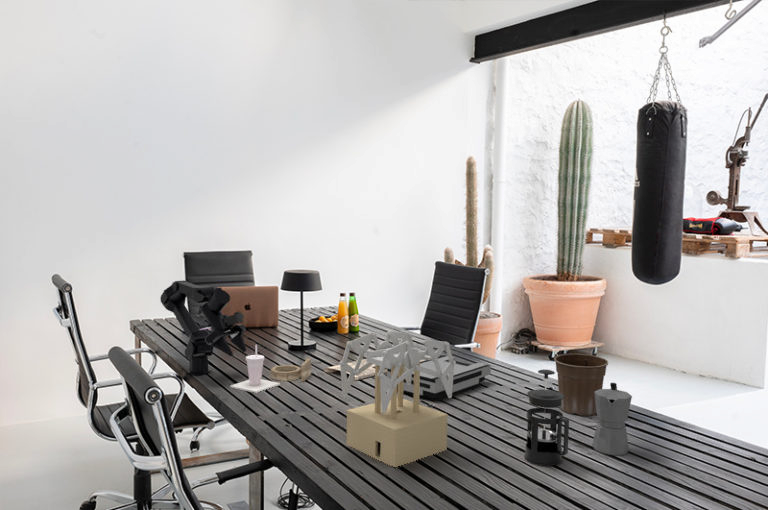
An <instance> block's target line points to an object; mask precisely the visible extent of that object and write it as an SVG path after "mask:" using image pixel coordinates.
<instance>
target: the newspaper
mask: <svg viewBox="0 0 768 510" xmlns="http://www.w3.org/2000/svg"><path fill="white" fill-rule="evenodd" d="M422 361H425V359H424V360H420V362H422ZM346 363H347V364H348V365H350V366H351V367H352V368H353V369H354V368H355V365H356V363H357V360H355V361H351V362H346ZM366 363H368V362H366V358H364V359H362V361H361V364H360V367H359V368H361V367H362V366H364V365H365V364H366ZM323 370H324V372H325V373H336V372H341V368H340V364H337V365H333V366H328V367H327V366H326V367H325V368H324V369H323ZM346 374H348V375H350V373H348V372H346ZM383 374H387V368H384V372H383ZM371 377H375V364H373V365H371V366H370V367H368V368H367V369H366V370H364V371H363V372H362V373H360V375H358V376H356V375H355V376H354V379H353V381H354V382H355V381H359V380H363V379H367V378H368V379H369V378H371Z"/></svg>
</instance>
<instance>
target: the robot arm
mask: <svg viewBox="0 0 768 510" xmlns="http://www.w3.org/2000/svg"><path fill="white" fill-rule="evenodd" d="M188 296H189V297H191V298H192V301H194V302H195V303H196V304H203V305H200V306H199V308H198V315H199V316H200V315H203V317H204V318H205V319H206V321H207V322H208V324H207V328H212V331H211V332H210V333H209V332H208V331H209V330H207V329H203V330H201V329H200V327H199V326H198V325H197V323H196V321H195V320H194V318H193V316H192V315H191V313H190V312H189V310H188V308H187V307H186V305H185V304H186V299H187V297H188ZM230 300H231V296H230V294H229V293H228V292H227V291H225V290H223V289H222V287H221V286H220V287H214V286H213V285H212V286H211V285H205V286H204V285H203V286H200V285H197V284H194V283H192V282H189V281H187V280H175V281H172V283H171V285H170V286H168V287H167V288H165V289H164V290H163V292H162V294H161V295H160V304H161V305H162V306H163V307H164V308H165V309H166V310H167V311H169V312H171V313H173V315H174V316H175V319H176V320H177V321H178V323H179V325H180V326H181V328H182V330H183V331H184V333H185V335H186V337H187V339H188V341H187V346H186V348H185V349H184V351H183V352H184V356H185V358H187V359H189V370H188V371H186V374H189V375H195V376H201V375H205V374H208V373H212V370H210V369H209V359H208V358H209V357H210V356H213V352H214V348H216V349H218V350H219V351H221V352H223V353H224V354H226V355H227V356H230V357H232V356H234V353H233V351H232V349H231V347H230V345H229V344H228V341H227V337H228V338H229V339H230V340H229V341H230V342H231V343H232V344H233V345H234V346H236V347H237V348H238V349H239V350H241V351H242V352H243V353H246V352H247V348H246V345H245V344H246V343H245V339H244V335H245V332H246V330H247V328H246V326H245V324H243V323H244V318H245V315H244V314H243V313H242V312H241V310H240V311H237V312H234V313H233V314H231V315H229V316H228V315H227V314H223V313H222V311H223V309H225V307H227V305H228V303H229V302H230Z"/></svg>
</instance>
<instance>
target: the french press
mask: <svg viewBox="0 0 768 510" xmlns="http://www.w3.org/2000/svg"><path fill="white" fill-rule="evenodd" d="M537 373H538V374H541V375H543V377H544V379H545V384H544V389H532V390H529V391H528V392H527V394H526V395H527V397H528V402H529V404H531V405H532V406H535V407H533V408H530V409H527V411H526V418H527V429H526V430H527V432H526V443H525V448H524V449H525V451H524V452H525V453H524V460H525V459H526V460H527V462H528V463H529V462H530V464H532V463H533V465H534V464H537V465H536V466H539V465H542V466H541V467H547V466H548V467H555V466H554V465H557V466H559V465H561V464H562V463H563V457H562V456H566V455H568V453H569V433H570V432H569V431H570V430H569V429H570V420H569V419H567V418H564V414H563V412H561V411H560V410H556V409H554V408H560V407H559V406H561V405H562V399H563V398H564V395H563V394H561V393H559V391H555V390H551V389H547V385H548V383H547V382H548V379H549V375H550V376H551V375H555V374H556V372H555V371H554V370H551V369H539V370H537ZM533 414H543V417H535V416H534V415H533ZM547 414H549V415H550V418H546V415H547ZM539 424H541V425H543V428H539ZM546 425H549V427H550V428H549V429H546ZM563 425H564V427H563ZM562 427H563V428H562ZM562 430H563V447H562ZM562 448H563V449H562ZM526 460H525V461H526ZM561 462H562V463H561ZM560 463H561V464H560ZM558 464H559V465H558Z"/></svg>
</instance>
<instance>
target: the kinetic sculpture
mask: <svg viewBox="0 0 768 510" xmlns="http://www.w3.org/2000/svg"><path fill="white" fill-rule="evenodd" d="M412 338H413V334H412V333H410V332H401V331H391V330H388V331H386V336H385V340H384V341H382V342H379V339H378V334H377V333H375V332H373V331H372V332H371V331H370V332H369V333H367V334H365V335H362V336H360V337H358V338H355V339H353V340H349V341H346V346H345V349H344V352H343V356H342V360H340V361H339V365H340V368H341V371H340V379H341V391H342V395H341V397H342V399H346V398H347V395H348V393H349V391H350V389H351V386H352V384H353V381H354V380H353V379H354V376H355V375H356V376H358V375H360V373H362V372H363V371H364V370H366V369H367V368H368V367H370V366H371V365H373V364H375V376H374V377H375V378H374V402H373V403H369V404H365V405H362V406H361V405H360V406H357V407H354V408H350V409H347V410H346V446H347V445H349V446H351V447H353V448H355V449H357V450H359V451H361V452H363V453H365V454H367V455H366V456H368V455H369V456H368V457H370V456H371V457H370V458H372V457H373V458H372V459H374V458H375V459H374V460H376V459H377V460H376V461H378V460H379V462H380V461H382V462H384V463H383V464H385V463H386V464H385V465H387V464H388V465H387V466H389V465H390V466H389V467H391V466H393V467H397V468H399V467H398V466H400V467H402V466H401V465H403V466H405V465H404V464H406V465H408V464H411V463H413V461H414V462H416V460H417V461H419V460H418V459H420V460H422V459H421V458H423V459H425V458H424V457H426V458H428V457H427V456H429V457H430V455H431V456H434V455H437V454H440V453H442V451H443V452H446V451H447V448H448V414H447V413H446V412H442V411H439V410H436V409H434V408H431V407H428V406H426V405H425V406H424V405H422V404H420V395H419V388H420V372H423V373H426V374H429V375H432V376H435V377H439V378H441V381H442V383H443V386H444V388H445V391H446V393H447V396H448V398H447V399H452V397H453V396H452V388H453V376H454V365H455V364H456V360H455V361H454V360H453V358H452V357H453V354H452V351H451V347H450V346H451V344H450V343H449V342H448V341H442V340H441V341H440V340H439V341H438V340H431V339H428V340H427V339H423V340H422V344H423V345H424V350H422V351H419V350H418V349H417V348H415V346H414V341H413V339H412ZM398 339H401V341H400V342H399V340H398ZM372 341H373V345H374V348H375V350H370V349H369V347H370V345H371V343H372ZM363 343H364V344H363ZM360 344H363V346H362V347H361V346H360ZM434 348H436V349H437V350H436V351H435V350H434ZM351 349H352V350H353V351H355V352H357V354H358V358H357V360H356V361H357V363H356V365H355V368H354V369H353V368H352V367H351V366H350V365H348V364H347V363H348V362H347V360H348V357H349V354H350V351H351ZM444 350H445V351H446V356H448V359H449V364H448V366H447V367H446V368H445V370H444V371H443V372H442V371H441V368H440V365H439V362H438V357H440V356H441V354H442V353H443V352H444ZM364 357H366V358H365V359H366V362H368V363H366V364H365V365H364V366H362V367H361V368H359V367H360V364H361V361H362V360H364V359H363V358H364ZM420 360H424V361H425V360H432V361H433V362H434V364H435V367H436V370H437V372H436V371H433V370H430V369H427V368H424V367H421V366H420ZM406 367H407V368H408V369H407V368H406ZM384 368H388V369H391V379H389V378H388V377H387V374H386V373H384V374H383V372H384ZM346 372H348V373H350V374H348V373H346ZM413 372H414V393H413V397H412V398H413V400H411V401H410V400H408V399H405V398H404V392H403V383H404V379H405V380H406V382H407V384H408V385H410V384H411V377H412V373H413ZM448 373H449V378H448V381H447V378H446V376H447V374H448ZM347 374H348V375H349V376H348V375H347ZM397 374H398V378H397ZM409 382H410V383H409ZM397 384H398V391H397ZM387 387H389V388H388V389H387ZM449 395H450V397H449ZM349 446H348V447H349ZM351 447H350V448H351ZM353 448H352V449H353ZM355 449H354V450H355ZM357 450H356V451H357ZM445 450H446V451H445ZM359 451H358V452H359ZM361 452H360V453H361ZM439 452H440V453H439ZM363 453H362V454H363ZM436 453H437V454H436ZM365 454H364V455H365ZM433 454H434V455H433ZM382 462H381V463H382ZM410 462H411V463H410ZM407 463H408V464H407ZM393 467H392V468H393Z"/></svg>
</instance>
